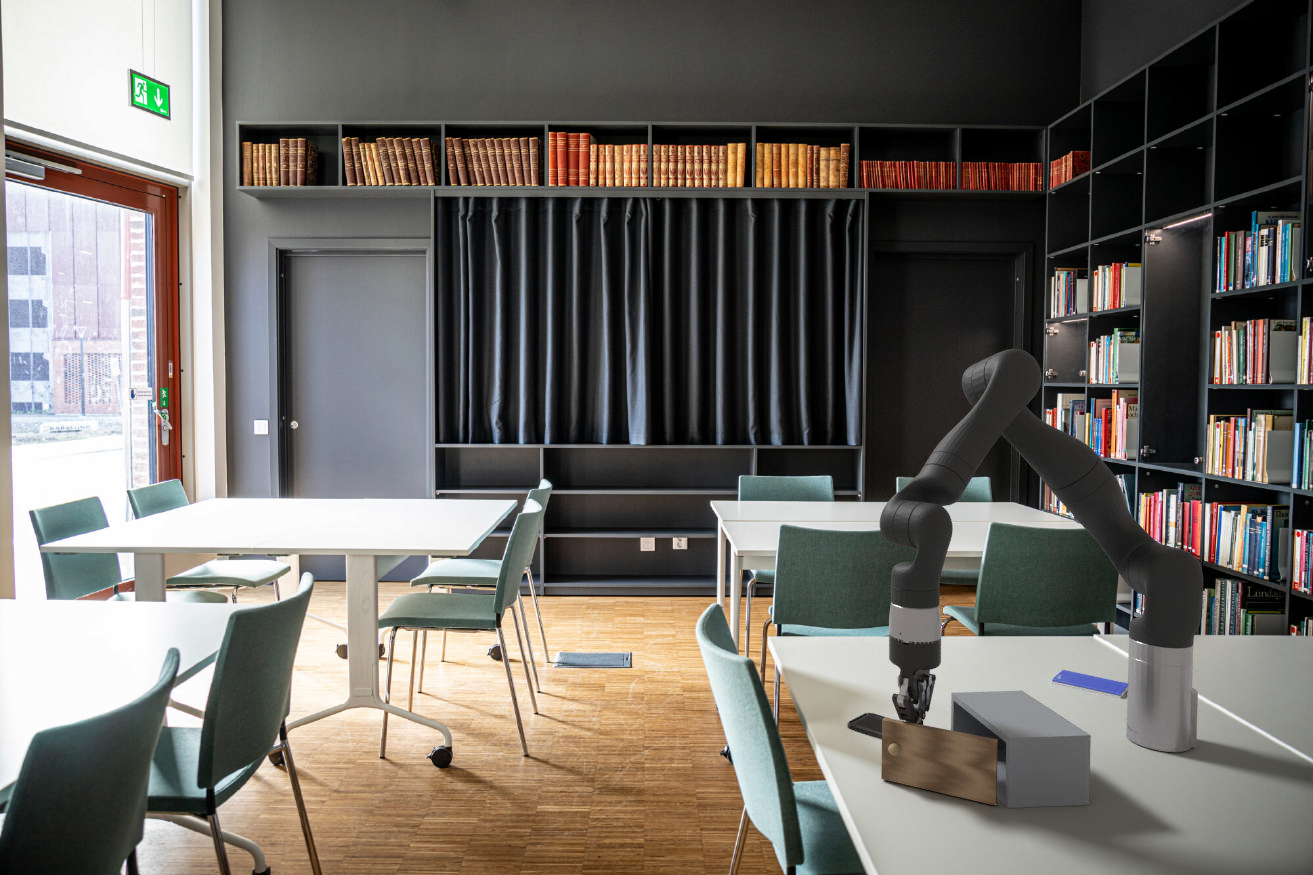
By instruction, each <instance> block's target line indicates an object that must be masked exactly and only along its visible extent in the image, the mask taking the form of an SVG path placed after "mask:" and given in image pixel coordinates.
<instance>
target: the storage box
mask: <svg viewBox="0 0 1313 875" xmlns="http://www.w3.org/2000/svg"><path fill="white" fill-rule="evenodd" d="M950 697H951V698H950V699H951V700H950V704H951V706H950V730H951V731H957V732H962V733H967V734H972V735H977V736H982V737H987V738H992V739H998V758H997V800H999V801H1000V802H1001V803H1002V804H1003V805H1004V806H1005V807H1006V808H1007V809H1018V808H1021V809H1023V808H1038V807H1039V808H1042V807H1063V806H1086V805H1090V788H1091V787H1090V785H1091V784H1090V781H1091V779H1090V776H1091V742H1092V741H1091V738H1092V734H1090V733H1088V732H1087V731H1085V730H1084V729H1082V728H1080V727H1078V726H1077V725H1076V724H1075V723H1073V722H1071V721H1070V720H1068V719H1067V718H1065V717H1063V716H1062V715H1061V714H1059V713H1058V712H1056V711H1054V710H1053V709H1052V708H1050V707H1048V706H1047V705H1046V704H1044V703H1042V702H1041V701H1040V700H1037V699H1035V698H1034V697H1033V696H1031V695H1030V694H1028V693H1027V692H1025V691H1023V690H997V691H970V692H969V691H967V692H965V691H963V692H960V691H959V692H958V691H957V692H951V696H950Z"/></svg>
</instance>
